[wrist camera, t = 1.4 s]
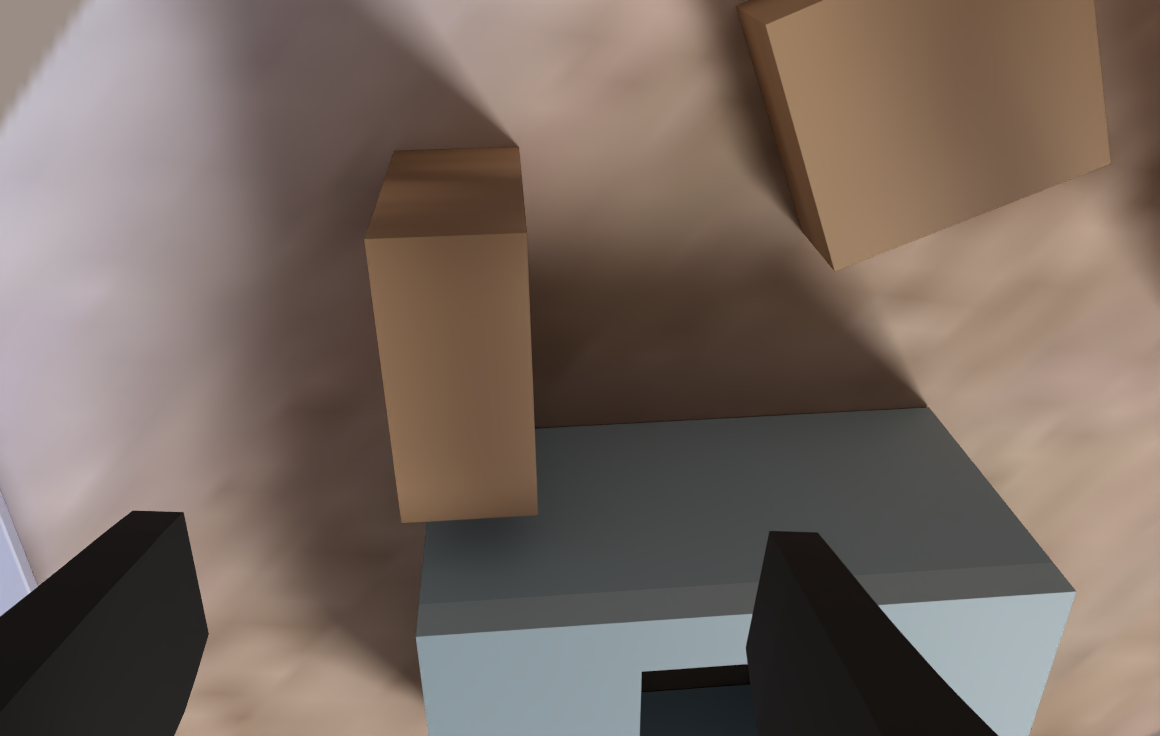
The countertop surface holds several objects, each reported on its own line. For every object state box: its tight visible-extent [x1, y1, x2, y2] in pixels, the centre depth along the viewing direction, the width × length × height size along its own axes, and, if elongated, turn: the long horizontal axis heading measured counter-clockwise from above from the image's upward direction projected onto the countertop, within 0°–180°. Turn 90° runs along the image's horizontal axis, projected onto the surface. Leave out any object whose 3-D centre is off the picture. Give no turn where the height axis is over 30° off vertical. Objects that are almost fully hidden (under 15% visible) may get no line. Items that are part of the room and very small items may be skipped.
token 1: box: [364, 147, 538, 523], centre depth 18 cm, size 2×6×5 cm, turn 1°
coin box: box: [416, 407, 1076, 736], centre depth 22 cm, size 12×10×6 cm
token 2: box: [736, 0, 1111, 271], centre depth 18 cm, size 6×5×2 cm
